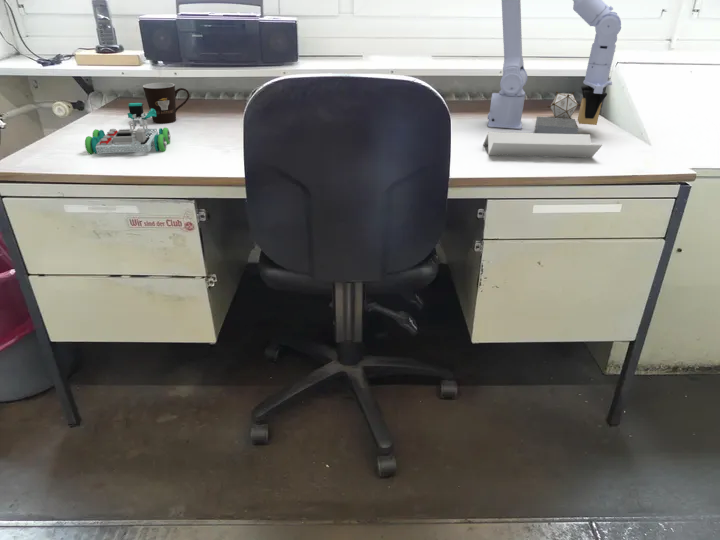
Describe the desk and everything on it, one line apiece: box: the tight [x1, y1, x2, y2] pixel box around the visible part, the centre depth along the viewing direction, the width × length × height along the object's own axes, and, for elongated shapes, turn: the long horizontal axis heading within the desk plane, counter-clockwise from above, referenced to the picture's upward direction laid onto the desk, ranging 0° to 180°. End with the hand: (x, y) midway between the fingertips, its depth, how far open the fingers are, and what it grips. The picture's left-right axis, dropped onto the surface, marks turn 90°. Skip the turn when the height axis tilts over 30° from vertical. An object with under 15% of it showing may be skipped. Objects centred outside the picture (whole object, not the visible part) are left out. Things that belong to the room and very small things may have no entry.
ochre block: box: [577, 97, 603, 126], centre depth 146 cm, size 4×4×6 cm
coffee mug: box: [142, 82, 190, 125], centre depth 153 cm, size 12×9×10 cm
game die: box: [547, 90, 581, 119], centre depth 161 cm, size 9×8×10 cm
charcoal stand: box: [534, 116, 579, 134], centre depth 144 cm, size 10×10×4 cm
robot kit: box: [84, 102, 172, 155], centre depth 134 cm, size 19×25×9 cm
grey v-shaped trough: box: [482, 131, 603, 158], centre depth 131 cm, size 12×25×6 cm
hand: (588, 116), depth 146 cm, fingers closed on ochre block, 4 cm apart
